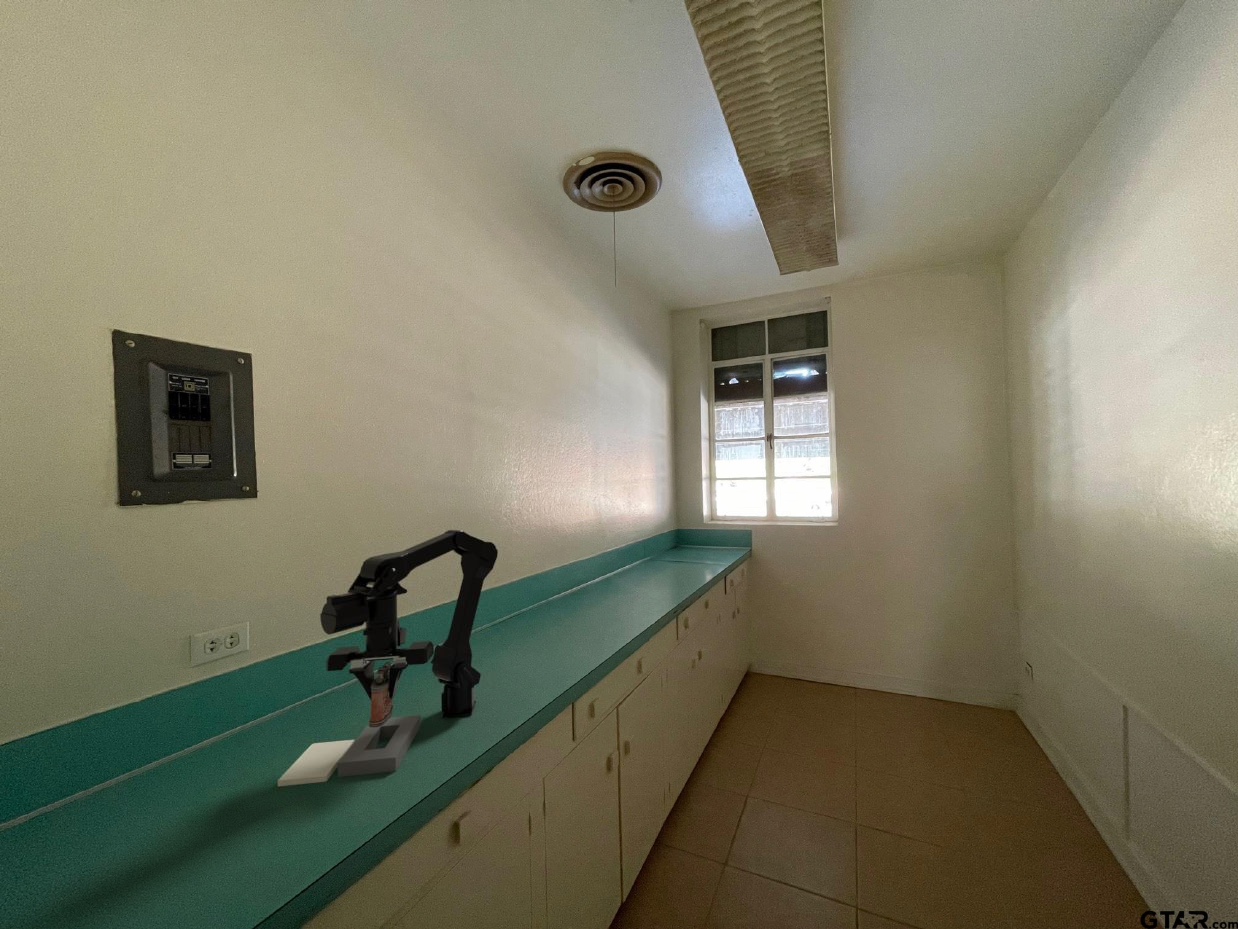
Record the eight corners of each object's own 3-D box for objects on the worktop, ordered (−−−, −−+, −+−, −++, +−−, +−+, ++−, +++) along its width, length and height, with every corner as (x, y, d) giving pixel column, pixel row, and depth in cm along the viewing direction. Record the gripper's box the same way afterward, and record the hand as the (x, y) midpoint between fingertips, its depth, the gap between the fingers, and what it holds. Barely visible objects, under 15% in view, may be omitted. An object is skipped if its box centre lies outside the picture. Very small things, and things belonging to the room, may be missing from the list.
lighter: (383, 727, 91) (386, 674, 91) (364, 728, 90) (367, 675, 91) (396, 707, 99) (398, 659, 99) (378, 708, 98) (381, 659, 99)
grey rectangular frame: (420, 726, 103) (420, 715, 103) (395, 771, 87) (395, 757, 87) (371, 731, 102) (371, 719, 102) (337, 777, 86) (337, 763, 86)
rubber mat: (354, 744, 96) (354, 739, 96) (326, 781, 85) (326, 775, 85) (312, 748, 95) (312, 743, 95) (277, 786, 83) (277, 780, 84)
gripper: (439, 606, 104) (440, 678, 104) (349, 612, 102) (350, 685, 101) (425, 621, 93) (426, 701, 93) (324, 628, 91) (325, 710, 90)
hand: (382, 698), depth 95 cm, fingers closed on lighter, 3 cm apart
